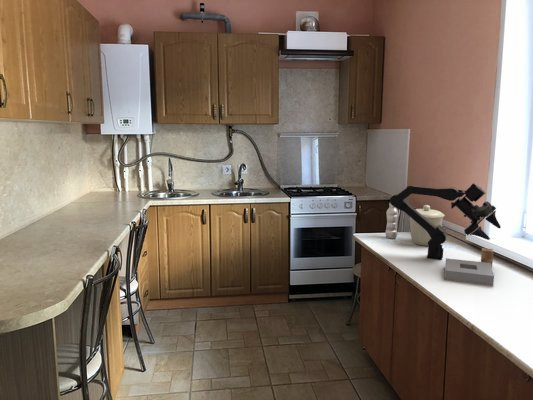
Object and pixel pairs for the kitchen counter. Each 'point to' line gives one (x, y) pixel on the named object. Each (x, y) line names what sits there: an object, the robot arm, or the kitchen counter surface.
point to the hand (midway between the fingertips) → (494, 233)
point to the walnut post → (487, 255)
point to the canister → (420, 233)
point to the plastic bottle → (391, 222)
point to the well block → (469, 271)
